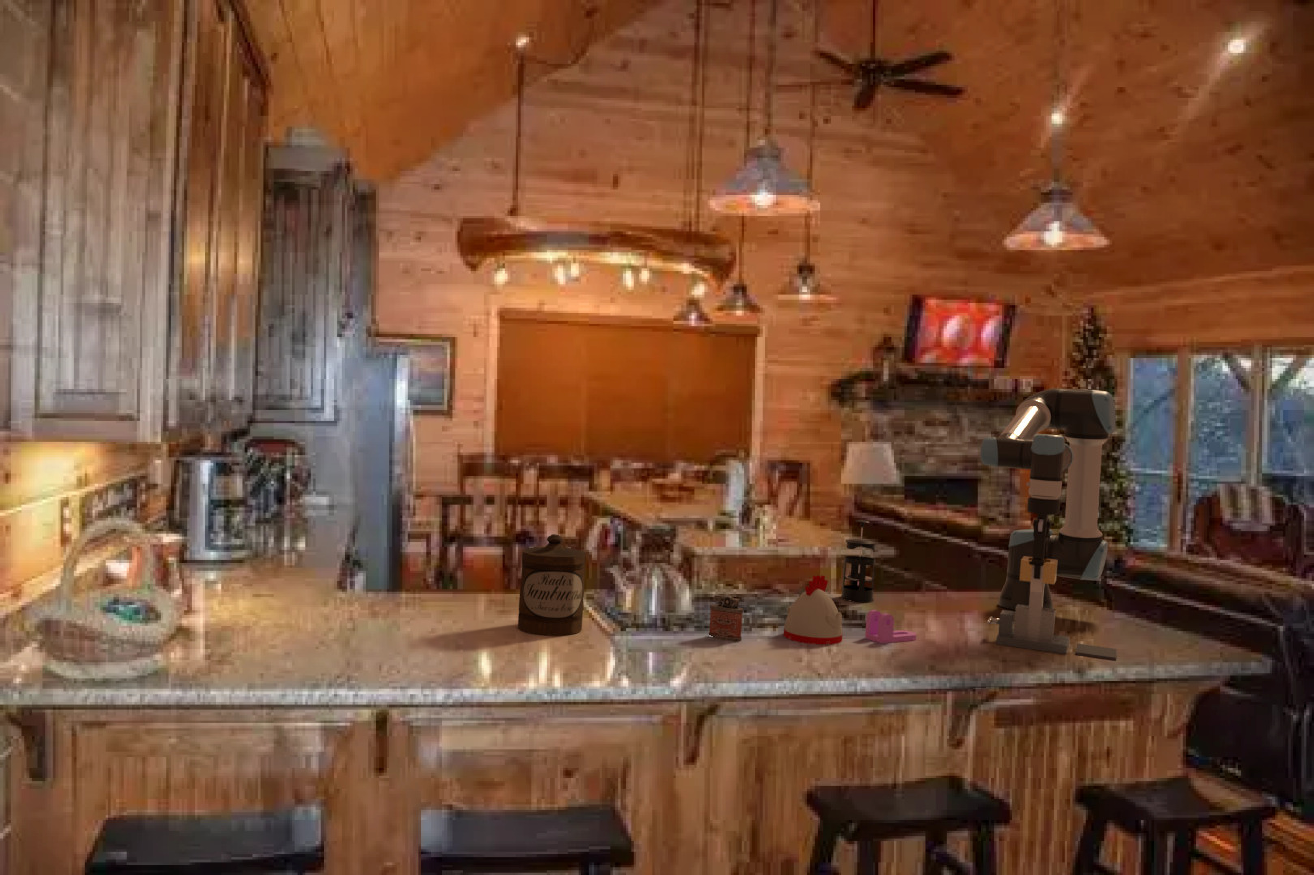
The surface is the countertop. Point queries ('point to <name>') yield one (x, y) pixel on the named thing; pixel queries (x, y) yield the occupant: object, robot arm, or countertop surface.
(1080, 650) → the rubber mat
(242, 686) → the countertop surface
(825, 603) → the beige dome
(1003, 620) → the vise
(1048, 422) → the robot arm
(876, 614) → the bracket
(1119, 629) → the countertop surface
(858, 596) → the french press
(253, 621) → the countertop surface
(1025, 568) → the orange-brown square frame
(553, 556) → the wooden container
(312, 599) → the countertop surface
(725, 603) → the lighter
